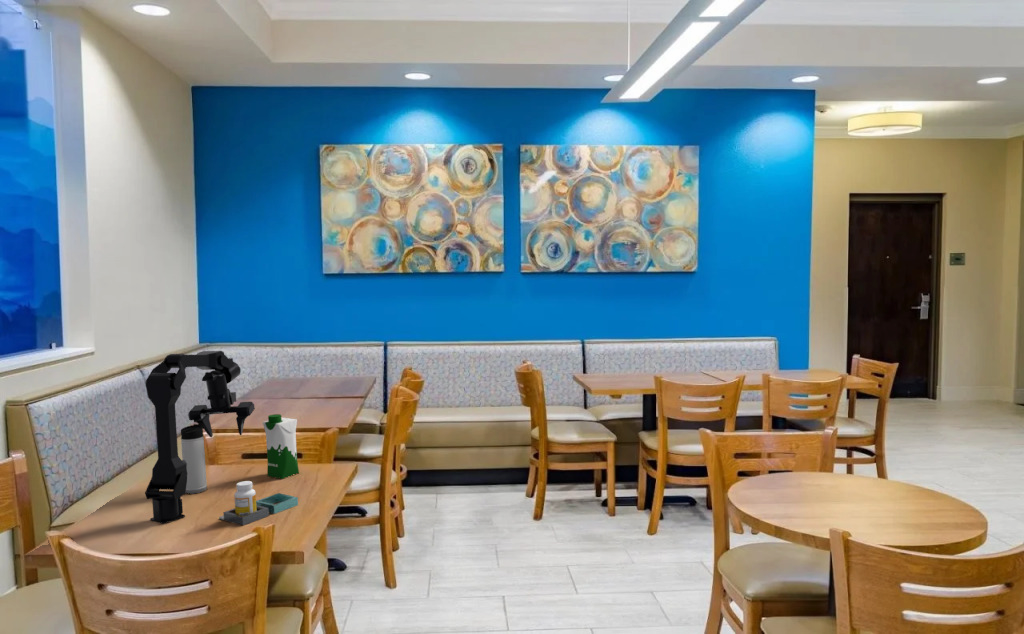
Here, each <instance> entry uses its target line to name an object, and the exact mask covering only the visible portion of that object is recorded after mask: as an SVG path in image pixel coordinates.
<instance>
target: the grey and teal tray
mask: <svg viewBox="0 0 1024 634" xmlns="http://www.w3.org/2000/svg"><path fill="white" fill-rule="evenodd" d="M298 498H299V497H297V496H292V495H289V494H285V493H280V492H277V493H275V494H272V495H269V496H267V497H263V498H261V499H256V508H257V511H256V512H253V513H250V514H247V515H245V516H241V515H238V514H236V512H235V507H234V508H231V509H229V510H226V511H224V512H223V515H220V516H219V517H218V519H219V520H220V521H221V520H222V521H226V522H228V523H233V524H235V525H240V526H245V525H248V524H251V523H253V522H256V521H259V520H262V519H264V518H267V517H270V514H275V515H276V514H278V513H280V512H282V511H286V510H288V509H291V508H293V507H296V506H299V499H298Z"/></svg>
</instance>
